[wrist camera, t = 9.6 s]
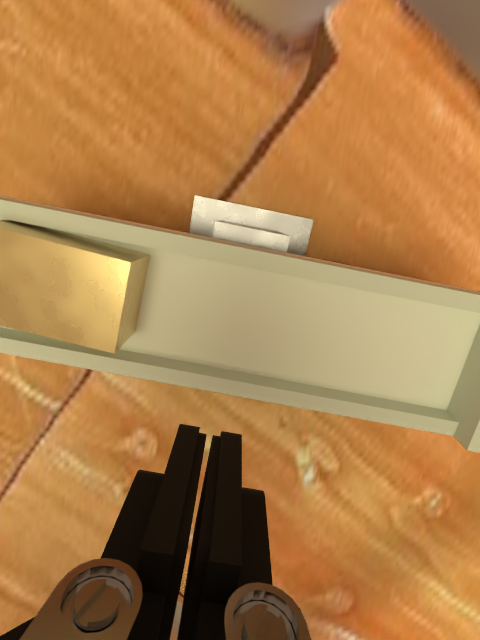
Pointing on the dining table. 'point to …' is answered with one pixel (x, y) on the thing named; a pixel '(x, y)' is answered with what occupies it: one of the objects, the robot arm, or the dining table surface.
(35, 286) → the block
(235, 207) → the pivot stand
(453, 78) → the dining table surface
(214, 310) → the balance beam
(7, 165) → the dining table surface
